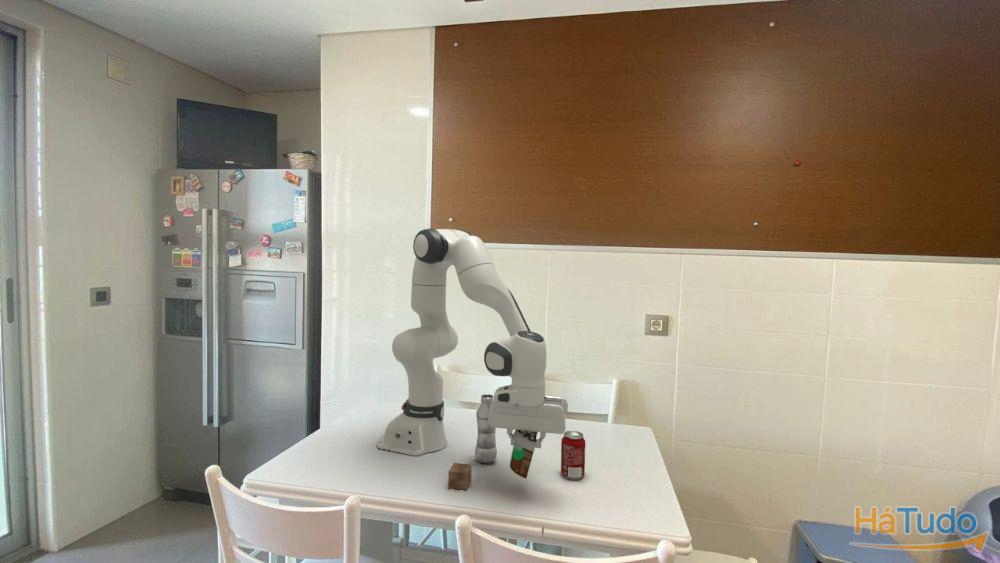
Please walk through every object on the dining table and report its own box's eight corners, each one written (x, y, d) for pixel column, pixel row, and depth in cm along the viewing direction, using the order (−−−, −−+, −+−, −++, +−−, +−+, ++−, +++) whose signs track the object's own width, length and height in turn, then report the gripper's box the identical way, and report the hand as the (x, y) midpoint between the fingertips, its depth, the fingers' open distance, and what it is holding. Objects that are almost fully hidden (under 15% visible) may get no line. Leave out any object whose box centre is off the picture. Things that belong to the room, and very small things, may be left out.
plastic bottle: (475, 456, 139) (476, 392, 138) (497, 456, 139) (498, 393, 138) (473, 465, 133) (475, 399, 132) (496, 466, 132) (497, 399, 132)
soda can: (584, 482, 124) (585, 440, 123) (559, 479, 125) (560, 437, 124) (584, 471, 130) (585, 431, 130) (561, 468, 132) (562, 428, 131)
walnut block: (448, 489, 119) (448, 471, 118) (453, 480, 124) (453, 462, 123) (466, 491, 118) (467, 473, 118) (470, 482, 123) (471, 464, 122)
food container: (508, 453, 125) (517, 419, 124) (529, 460, 124) (539, 426, 123) (502, 473, 112) (512, 436, 112) (525, 481, 112) (535, 444, 111)
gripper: (568, 394, 118) (565, 445, 119) (492, 387, 121) (490, 437, 122) (568, 401, 112) (565, 455, 113) (487, 394, 115) (486, 446, 116)
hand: (525, 445), depth 117 cm, fingers closed on food container, 5 cm apart
